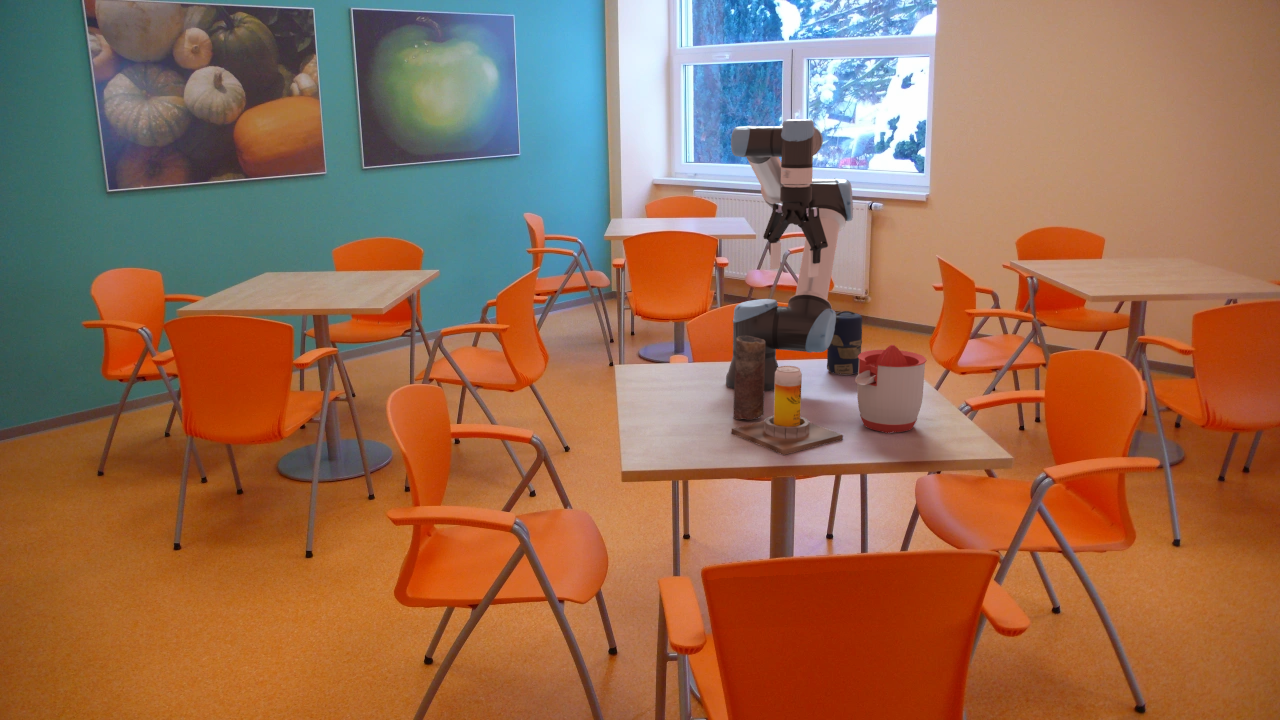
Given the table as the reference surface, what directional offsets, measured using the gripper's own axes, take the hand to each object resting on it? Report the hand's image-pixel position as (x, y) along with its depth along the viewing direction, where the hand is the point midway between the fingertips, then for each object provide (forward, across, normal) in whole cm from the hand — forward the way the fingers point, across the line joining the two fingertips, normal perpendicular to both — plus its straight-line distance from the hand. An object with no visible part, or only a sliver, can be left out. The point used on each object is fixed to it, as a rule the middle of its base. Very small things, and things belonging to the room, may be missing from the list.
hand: (793, 272), depth 243 cm
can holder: (+34, +18, -17) cm, 42 cm away
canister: (+35, -15, +34) cm, 51 cm away
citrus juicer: (+34, +26, +7) cm, 44 cm away
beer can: (+33, +18, -17) cm, 41 cm away
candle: (+34, +2, -15) cm, 38 cm away
